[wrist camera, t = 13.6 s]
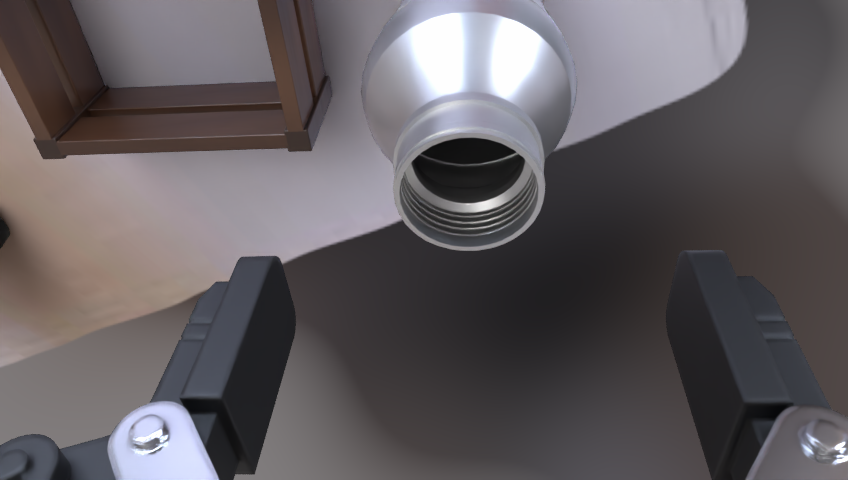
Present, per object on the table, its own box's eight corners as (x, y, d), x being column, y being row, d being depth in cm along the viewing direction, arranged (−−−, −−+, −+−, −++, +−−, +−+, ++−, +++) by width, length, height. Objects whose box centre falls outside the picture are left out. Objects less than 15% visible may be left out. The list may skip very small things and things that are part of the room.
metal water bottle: (547, 11, 33) (612, 280, 17) (415, 31, 34) (365, 301, 18) (538, -132, 29) (613, 50, 13) (390, -105, 30) (298, 93, 14)
